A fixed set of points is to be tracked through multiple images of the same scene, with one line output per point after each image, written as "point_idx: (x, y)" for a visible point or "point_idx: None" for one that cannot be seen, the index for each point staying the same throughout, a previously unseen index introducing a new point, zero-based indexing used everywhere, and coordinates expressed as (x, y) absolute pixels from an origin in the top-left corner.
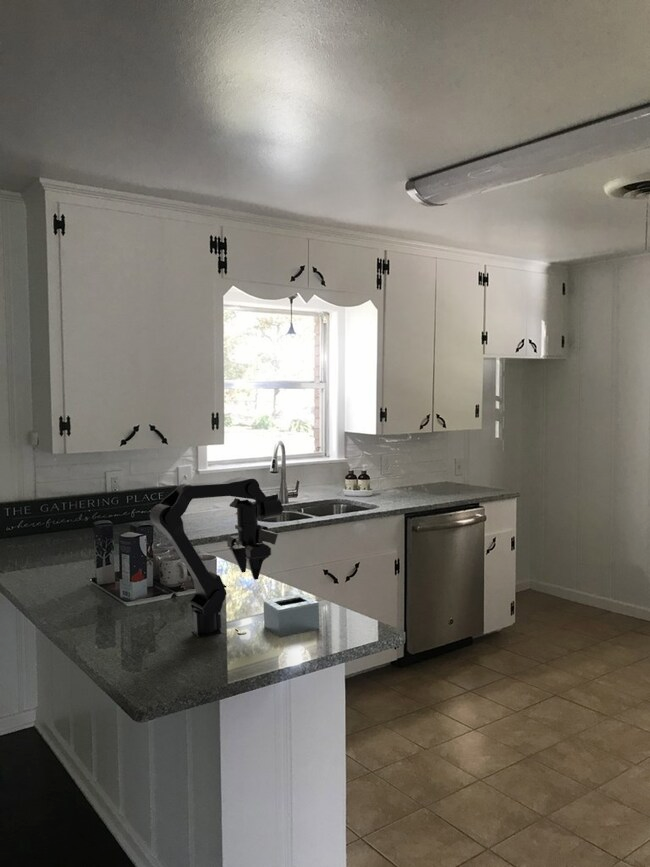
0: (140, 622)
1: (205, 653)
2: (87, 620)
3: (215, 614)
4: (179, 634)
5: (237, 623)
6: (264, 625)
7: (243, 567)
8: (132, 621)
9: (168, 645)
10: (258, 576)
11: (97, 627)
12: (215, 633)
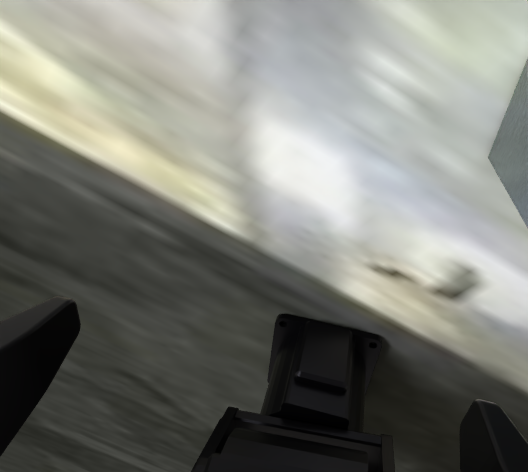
0: (87, 406)
1: None
2: (17, 452)
3: (352, 416)
4: None
5: (304, 220)
6: (491, 161)
7: (37, 362)
8: (69, 411)
9: None
10: (520, 437)
11: (82, 467)
12: (376, 361)
